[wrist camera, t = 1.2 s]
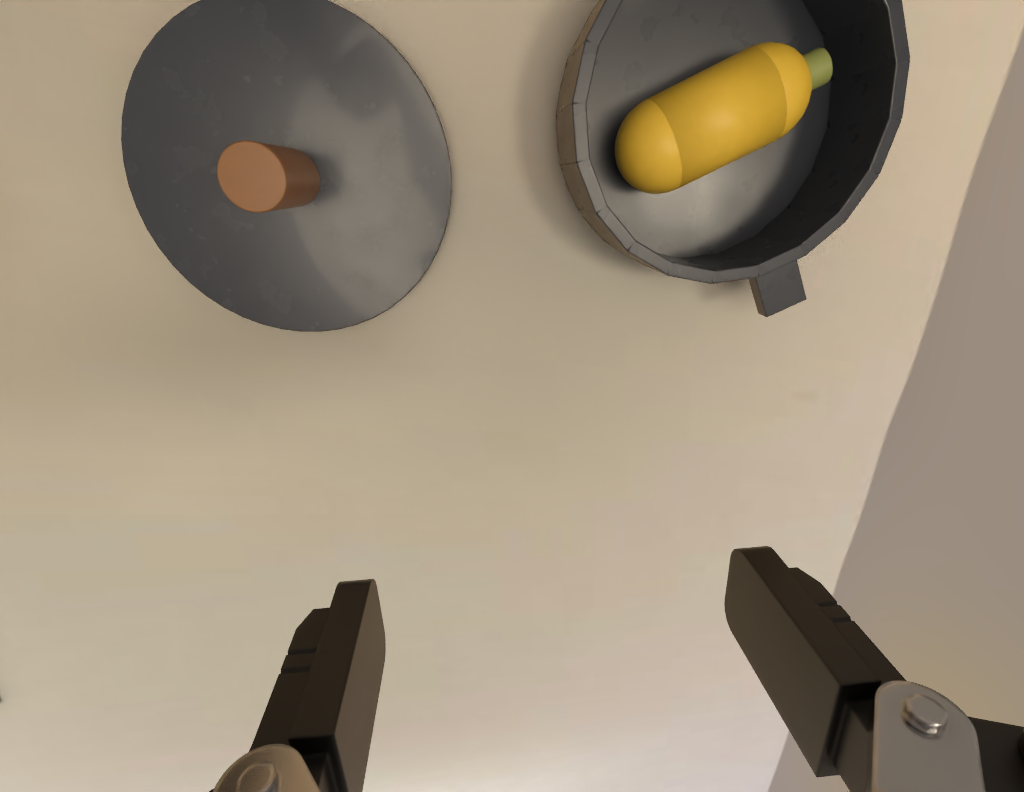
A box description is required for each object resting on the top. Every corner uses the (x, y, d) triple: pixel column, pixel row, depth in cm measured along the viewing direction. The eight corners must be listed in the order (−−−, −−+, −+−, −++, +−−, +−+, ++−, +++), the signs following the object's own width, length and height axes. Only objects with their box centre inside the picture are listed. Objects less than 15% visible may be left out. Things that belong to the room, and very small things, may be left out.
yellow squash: (622, 207, 32) (647, 211, 28) (593, 125, 30) (614, 116, 26) (805, 117, 31) (861, 107, 27) (785, 27, 29) (842, 0, 25)
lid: (257, 372, 35) (208, 417, 28) (59, 91, 28) (-64, 64, 22) (501, 252, 33) (510, 269, 26) (350, -75, 27) (312, -159, 20)
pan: (630, 346, 36) (657, 373, 31) (486, -18, 28) (490, -62, 23) (867, 236, 34) (937, 245, 29) (787, -182, 26) (864, -269, 21)
